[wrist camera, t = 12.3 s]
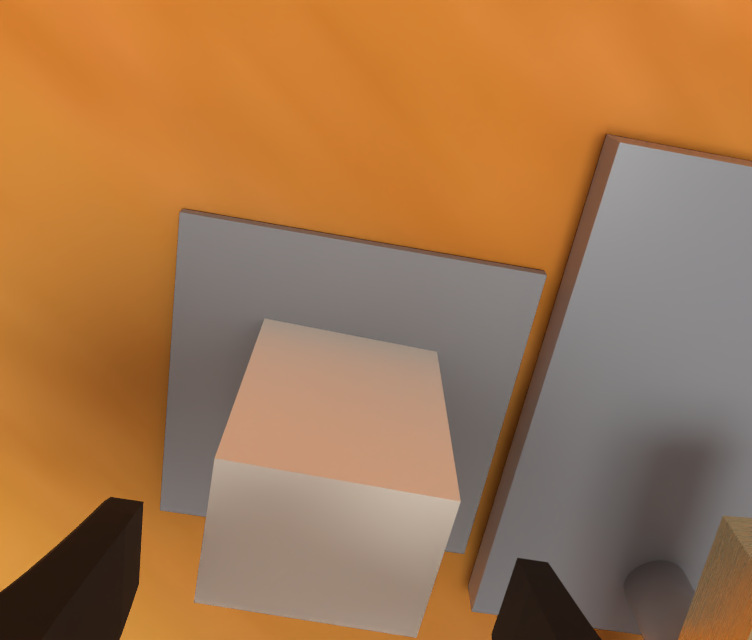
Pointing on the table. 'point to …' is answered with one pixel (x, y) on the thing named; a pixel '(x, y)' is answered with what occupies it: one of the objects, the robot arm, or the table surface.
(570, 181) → the table surface
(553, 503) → the panel
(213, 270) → the mat
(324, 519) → the white rectangular block
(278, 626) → the table surface
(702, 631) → the tan rectangular bar
